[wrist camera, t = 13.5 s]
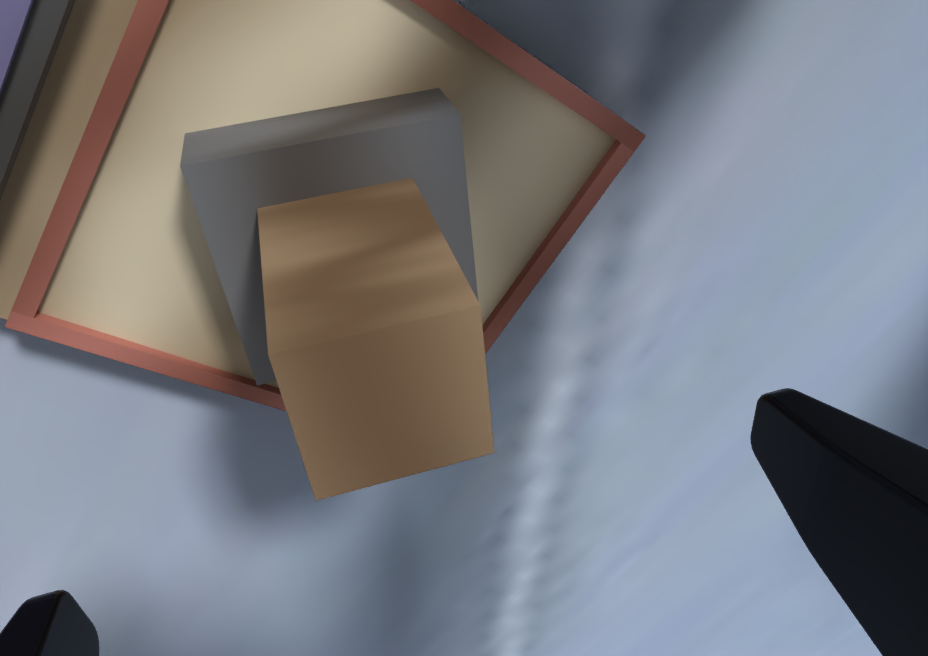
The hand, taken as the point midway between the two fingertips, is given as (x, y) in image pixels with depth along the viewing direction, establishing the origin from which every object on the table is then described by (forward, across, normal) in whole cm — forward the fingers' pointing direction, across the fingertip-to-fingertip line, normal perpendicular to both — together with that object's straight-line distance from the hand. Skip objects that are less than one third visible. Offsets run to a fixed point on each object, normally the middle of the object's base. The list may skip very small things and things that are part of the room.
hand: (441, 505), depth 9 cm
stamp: (+11, 0, +1) cm, 11 cm away
